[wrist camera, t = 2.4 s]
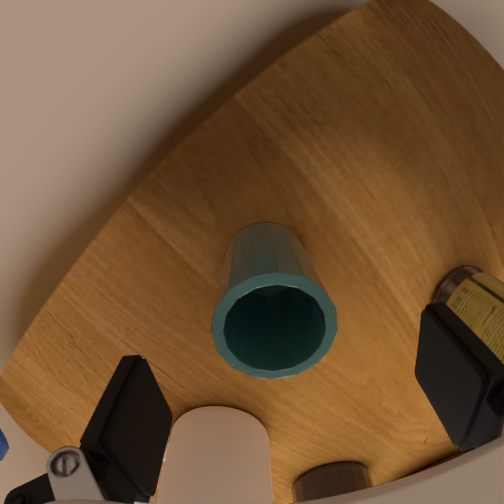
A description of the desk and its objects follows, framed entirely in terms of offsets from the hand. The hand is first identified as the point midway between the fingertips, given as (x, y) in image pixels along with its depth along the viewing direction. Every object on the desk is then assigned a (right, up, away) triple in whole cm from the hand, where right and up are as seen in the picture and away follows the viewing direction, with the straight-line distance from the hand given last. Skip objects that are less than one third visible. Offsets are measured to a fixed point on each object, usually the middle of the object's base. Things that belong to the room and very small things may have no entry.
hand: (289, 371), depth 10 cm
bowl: (+8, -22, +19) cm, 30 cm away
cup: (0, +3, +10) cm, 11 cm away
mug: (-6, -13, +16) cm, 21 cm away
